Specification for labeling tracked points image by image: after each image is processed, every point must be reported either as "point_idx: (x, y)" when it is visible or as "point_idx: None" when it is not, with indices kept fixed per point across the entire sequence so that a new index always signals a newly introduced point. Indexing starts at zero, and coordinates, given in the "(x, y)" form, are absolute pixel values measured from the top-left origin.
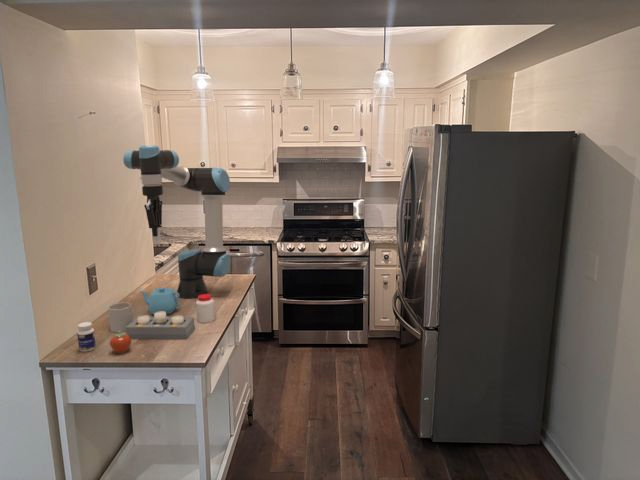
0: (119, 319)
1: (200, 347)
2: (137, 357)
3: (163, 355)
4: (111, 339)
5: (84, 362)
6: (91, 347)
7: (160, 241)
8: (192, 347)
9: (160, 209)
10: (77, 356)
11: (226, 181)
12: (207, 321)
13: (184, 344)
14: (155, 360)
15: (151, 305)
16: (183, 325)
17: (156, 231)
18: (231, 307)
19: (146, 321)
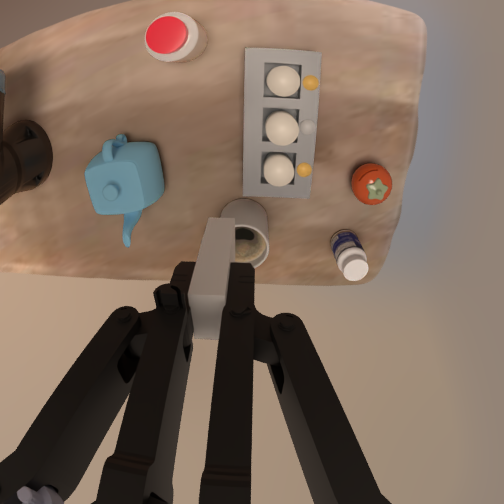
0: (267, 228)
1: (362, 19)
2: (397, 137)
3: (395, 88)
4: (382, 201)
5: (397, 223)
6: (354, 234)
7: (214, 224)
8: (361, 35)
9: (58, 442)
10: (372, 243)
11: None
12: (205, 30)
13: (345, 53)
14: (413, 100)
15: (159, 193)
16: (308, 60)
17: (241, 288)
18: (98, 14)
19: (288, 159)
